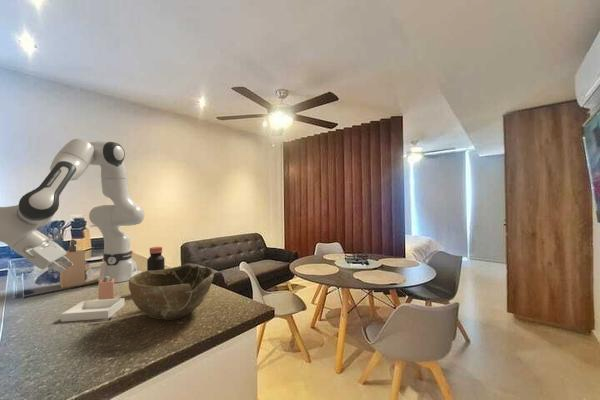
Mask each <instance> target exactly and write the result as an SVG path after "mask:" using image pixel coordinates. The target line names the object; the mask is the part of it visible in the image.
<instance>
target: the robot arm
mask: <svg viewBox="0 0 600 400" xmlns="http://www.w3.org/2000/svg"><path fill="white" fill-rule="evenodd" d="M125 153H126V152H125V149H124V147H123V146H122V145H121V144H120V143H117V142H114V141H101V140H99V141H98V140H97V141H87V140H86V139H82V138H74V139H71V140H70V141H69V142H66V144H64V146H63V147H62V148H61V149H60V150H59V151H58V153H56V155H55V156H54V158H53V160H52V162H51V163H50V164H51V165H49V170H50V171H49V173H48V175H46V177H45V178H44V180H43V181H42V182H41V184H39V186H37V187H36V188H34V189H32V190H31V191H29V192H26V193H25V194H24V195H22V197H21V198H20V199H19V201H18V204H16V205H11V206H0V242H1V243H3V244H6V246H8V248H10V249H11V250H12V251H13V252H15V253H17V254H18V255H19V256H21V257H23V258H25V259H26V260H27V261H29V262H30V263H31V264H32V265H34V266H35V267H36V268H38V269H41V270H45V269H46V268H49V269H51V270H53V271H56V272H58V274H60V273H63V272H64V271H65V270H66V268H64V267H63V266H60V264H58V262H59V263H60V262H62V263H63V264H64V265H65V266H66V267H68V268H69V267H71V266H72V265H73V263H72V262H70V261H69V260H68V258H67V257H65V255H66V254H67V252H66V251H67V250H65V249H64V248H63V247H61V246H60V245H59V244H58V243H57V242H55V241H54V240H53V238H52V237H51V236H50V235H49V234H44V233H42V232H40V231H39V230H38V229H39V228H42V227H45V226H46V225H47V224H49V223H50V222H51V220H52V219H53V217H54V215H55V214H56V213H57V211H58V210H59V207H60V195H61V194H62V192H63V191H64V189H65V188H66V187H67V185H68V183H69V182H71V181H76V180H79V178H80V177H81V176H82V175H83V174H85V172H86V171H87V169H88V168H89V166H90V165H93V166H100V179H101V181H100V182H101V191H102V194H103V196H104V197H106V198H108V199H110V200H111V201H112V202H113V204H103V205H97V206H93V208H92V209H90V210H89V213H88V217H89V220H90V223H91V224H93V225H95V227H97V229H98V230H99V231H100V232H101V235H102V237H103V245H104V246H103V247H104V250H103V251H104V253H103V255H102V260H103V262H101V264H100V270H99V277H97V278H96V282H100V280H104V277H106V276H109V279H114V284H115V283H116V284H117V283H122V282H123V283H124V282H126V281H129V280H130V278H131V277H132V276H134V275H137V274H139V273H141V272H143V271H142V270H140V269H138V263H137V262H136V261H135V259H133V258H132V255H133V254H134V251H133V250H131V238H130V236H129V235H128V234H127V233H125V232H123V231H122V230H121V228H120V227H127V226H128V227H129V226H135V225H139V224H141V223H142V222H143V221H144V218H145V211H144V209H143V208H142V207H141V206H140V205H138V203H136V202H135V200H133V198H132V196H131V194H130V192H129V185H128V184H129V183H128V175H127V169H126V165H125V162H124V160H125V158H126V157H125V156H126V154H125Z"/></svg>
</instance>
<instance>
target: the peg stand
mask: <svg viewBox="0 0 600 400" xmlns="http://www.w3.org/2000/svg"><path fill="white" fill-rule="evenodd" d="M104 282H109V276H106V277H104ZM121 298H122V295H114V299H121ZM94 300H99V298H95V299H94Z"/></svg>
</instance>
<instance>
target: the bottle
mask: <svg viewBox="0 0 600 400" xmlns="http://www.w3.org/2000/svg"><path fill="white" fill-rule="evenodd" d="M162 253H163V247H162V246H152V247H150V248H149V257H148V258H147V263H146V264H147V265H146V271H150V270H152V271H155V270H164V269H166V268H165V257H164V256H163V255H162Z"/></svg>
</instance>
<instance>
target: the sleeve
mask: <svg viewBox="0 0 600 400" xmlns="http://www.w3.org/2000/svg"><path fill="white" fill-rule="evenodd" d="M114 296H115V283H114V279H109V282H104V280H100V281H98V299H99V300H105V299H114Z"/></svg>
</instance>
